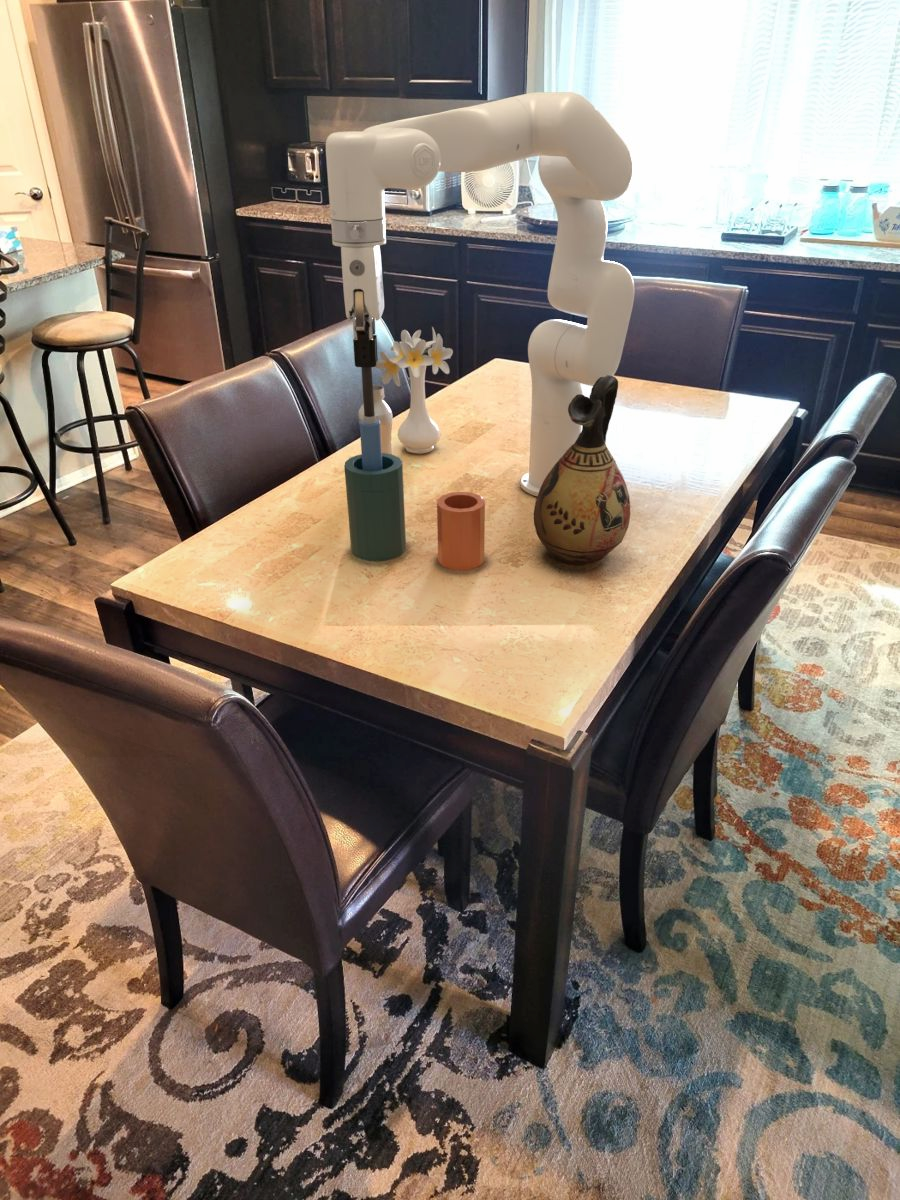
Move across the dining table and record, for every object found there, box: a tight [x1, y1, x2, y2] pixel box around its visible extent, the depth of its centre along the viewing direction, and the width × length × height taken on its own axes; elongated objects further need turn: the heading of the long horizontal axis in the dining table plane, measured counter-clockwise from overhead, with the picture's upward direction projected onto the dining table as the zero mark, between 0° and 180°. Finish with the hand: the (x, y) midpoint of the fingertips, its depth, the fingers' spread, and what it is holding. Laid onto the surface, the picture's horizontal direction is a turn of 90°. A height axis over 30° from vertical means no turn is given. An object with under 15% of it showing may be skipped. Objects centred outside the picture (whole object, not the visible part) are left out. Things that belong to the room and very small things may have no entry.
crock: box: [436, 491, 486, 571], centre depth 138 cm, size 8×8×11 cm
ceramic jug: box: [533, 375, 631, 571], centre depth 135 cm, size 17×15×30 cm
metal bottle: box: [357, 384, 394, 455], centre depth 163 cm, size 6×7×20 cm
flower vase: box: [374, 326, 454, 455], centre depth 178 cm, size 13×18×25 cm
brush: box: [359, 367, 383, 471], centre depth 131 cm, size 3×3×22 cm
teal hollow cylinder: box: [344, 453, 407, 562], centre depth 140 cm, size 9×9×16 cm
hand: (366, 363), depth 128 cm, fingers closed on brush, 1 cm apart
